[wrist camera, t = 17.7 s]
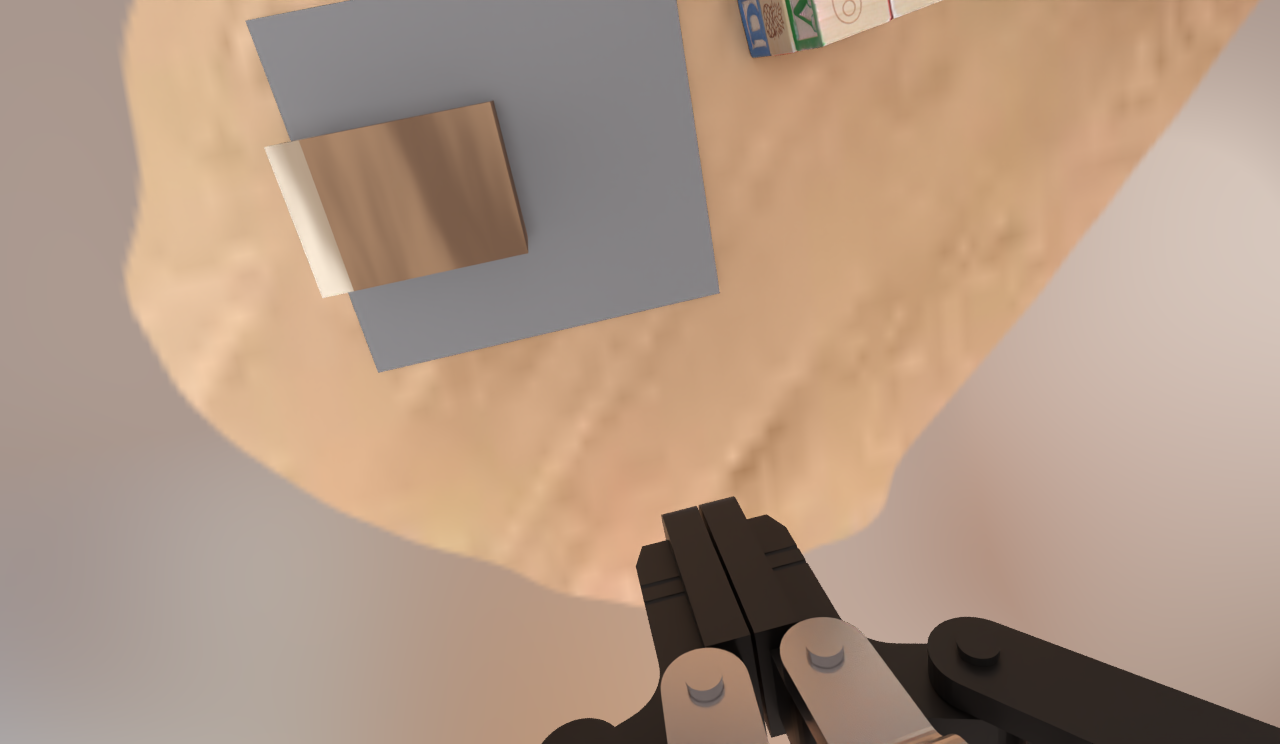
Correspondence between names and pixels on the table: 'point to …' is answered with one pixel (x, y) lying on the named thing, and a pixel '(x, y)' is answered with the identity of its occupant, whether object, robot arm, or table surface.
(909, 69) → the table surface
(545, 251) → the mat
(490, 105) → the walnut block
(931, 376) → the table surface
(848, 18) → the stack of blocks
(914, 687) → the robot arm
